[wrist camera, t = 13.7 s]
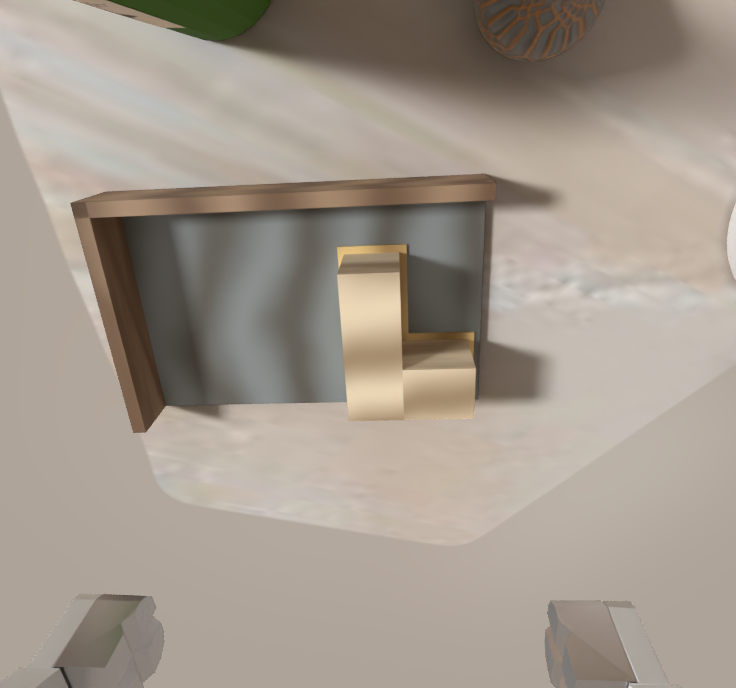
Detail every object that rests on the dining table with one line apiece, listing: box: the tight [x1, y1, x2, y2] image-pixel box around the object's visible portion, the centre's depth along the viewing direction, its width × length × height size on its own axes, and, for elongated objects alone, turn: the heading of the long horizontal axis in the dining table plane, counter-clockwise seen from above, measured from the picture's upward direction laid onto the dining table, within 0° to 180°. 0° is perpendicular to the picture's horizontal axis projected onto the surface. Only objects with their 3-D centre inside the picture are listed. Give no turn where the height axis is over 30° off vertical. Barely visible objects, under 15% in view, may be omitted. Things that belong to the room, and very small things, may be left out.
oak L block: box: [337, 252, 476, 421], centre depth 39 cm, size 11×9×5 cm
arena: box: [70, 174, 496, 433], centre depth 39 cm, size 27×18×5 cm, turn 93°
